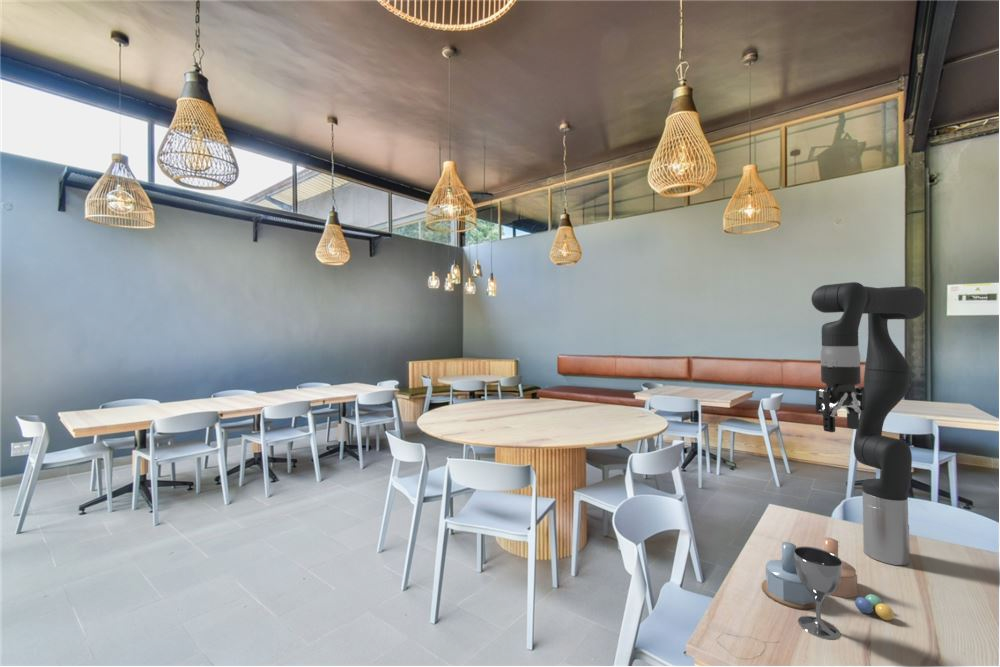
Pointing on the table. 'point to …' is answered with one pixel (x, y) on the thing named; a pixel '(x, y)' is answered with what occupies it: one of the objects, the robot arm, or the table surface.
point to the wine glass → (818, 586)
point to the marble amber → (884, 611)
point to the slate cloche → (786, 578)
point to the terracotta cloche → (843, 572)
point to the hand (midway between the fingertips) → (841, 430)
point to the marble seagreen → (874, 600)
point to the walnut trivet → (786, 603)
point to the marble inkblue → (864, 605)
